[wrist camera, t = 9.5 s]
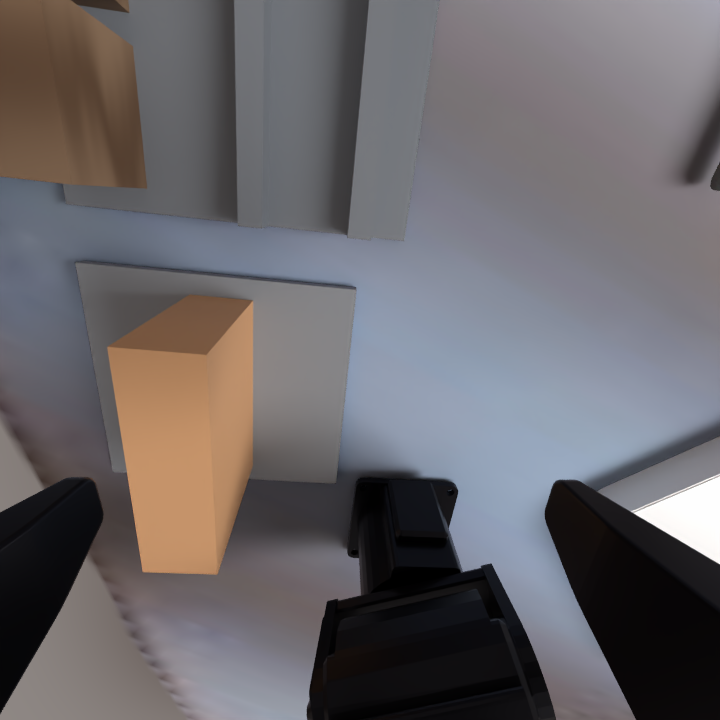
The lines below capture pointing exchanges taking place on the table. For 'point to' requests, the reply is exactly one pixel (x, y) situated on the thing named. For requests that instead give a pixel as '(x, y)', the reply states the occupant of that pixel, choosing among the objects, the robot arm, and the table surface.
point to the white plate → (678, 497)
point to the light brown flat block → (186, 428)
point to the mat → (270, 357)
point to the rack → (276, 111)
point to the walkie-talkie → (716, 179)
